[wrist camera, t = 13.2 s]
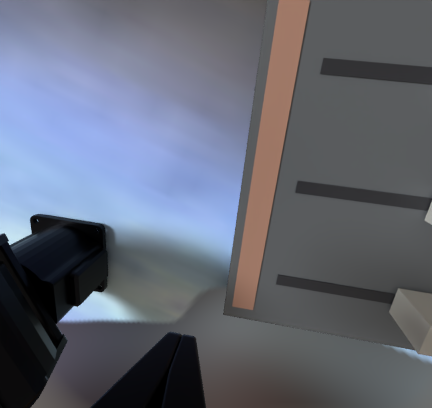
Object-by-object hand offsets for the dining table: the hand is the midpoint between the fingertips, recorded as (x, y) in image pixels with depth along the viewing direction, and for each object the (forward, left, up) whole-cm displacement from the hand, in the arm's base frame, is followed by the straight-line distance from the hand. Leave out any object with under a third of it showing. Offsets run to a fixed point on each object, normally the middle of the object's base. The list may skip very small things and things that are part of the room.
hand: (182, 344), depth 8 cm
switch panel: (+10, +3, -13) cm, 17 cm away
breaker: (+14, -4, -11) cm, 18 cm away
